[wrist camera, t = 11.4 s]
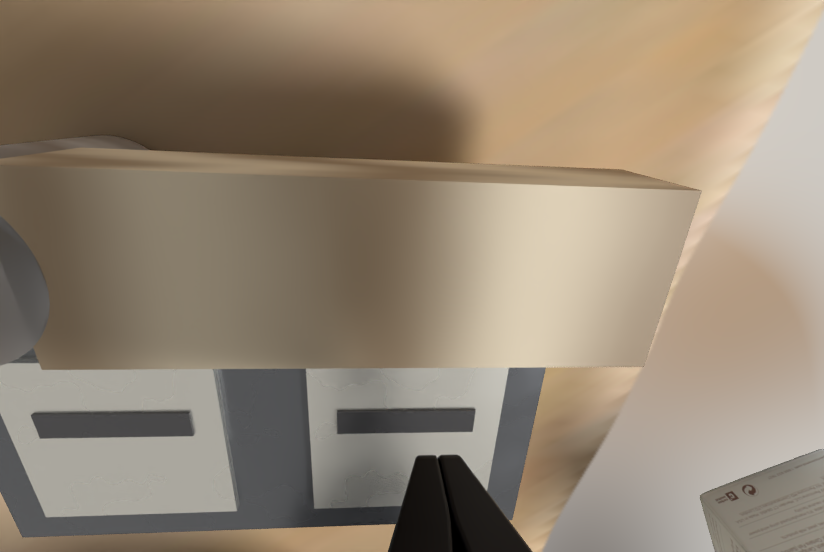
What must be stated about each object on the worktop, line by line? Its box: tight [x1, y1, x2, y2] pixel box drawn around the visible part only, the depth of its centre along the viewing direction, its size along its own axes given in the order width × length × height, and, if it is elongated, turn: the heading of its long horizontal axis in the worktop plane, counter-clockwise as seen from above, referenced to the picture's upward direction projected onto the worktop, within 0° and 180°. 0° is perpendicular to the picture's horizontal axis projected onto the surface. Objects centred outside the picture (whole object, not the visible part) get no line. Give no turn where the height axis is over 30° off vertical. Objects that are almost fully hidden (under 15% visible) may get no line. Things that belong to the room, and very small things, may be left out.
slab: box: [0, 348, 546, 537], centre depth 16 cm, size 10×20×3 cm, turn 87°
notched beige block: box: [0, 135, 702, 370], centre depth 11 cm, size 18×4×6 cm, turn 87°
